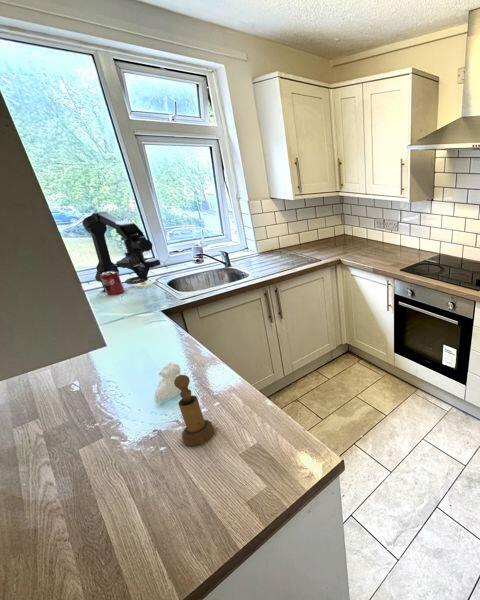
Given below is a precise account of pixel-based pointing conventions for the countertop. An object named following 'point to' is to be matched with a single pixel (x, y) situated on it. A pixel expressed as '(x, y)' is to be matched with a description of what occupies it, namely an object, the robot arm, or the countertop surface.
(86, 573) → the countertop surface
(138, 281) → the hoop
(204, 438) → the mortar and pestle
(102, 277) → the soda can
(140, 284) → the peg stand
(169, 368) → the bust
